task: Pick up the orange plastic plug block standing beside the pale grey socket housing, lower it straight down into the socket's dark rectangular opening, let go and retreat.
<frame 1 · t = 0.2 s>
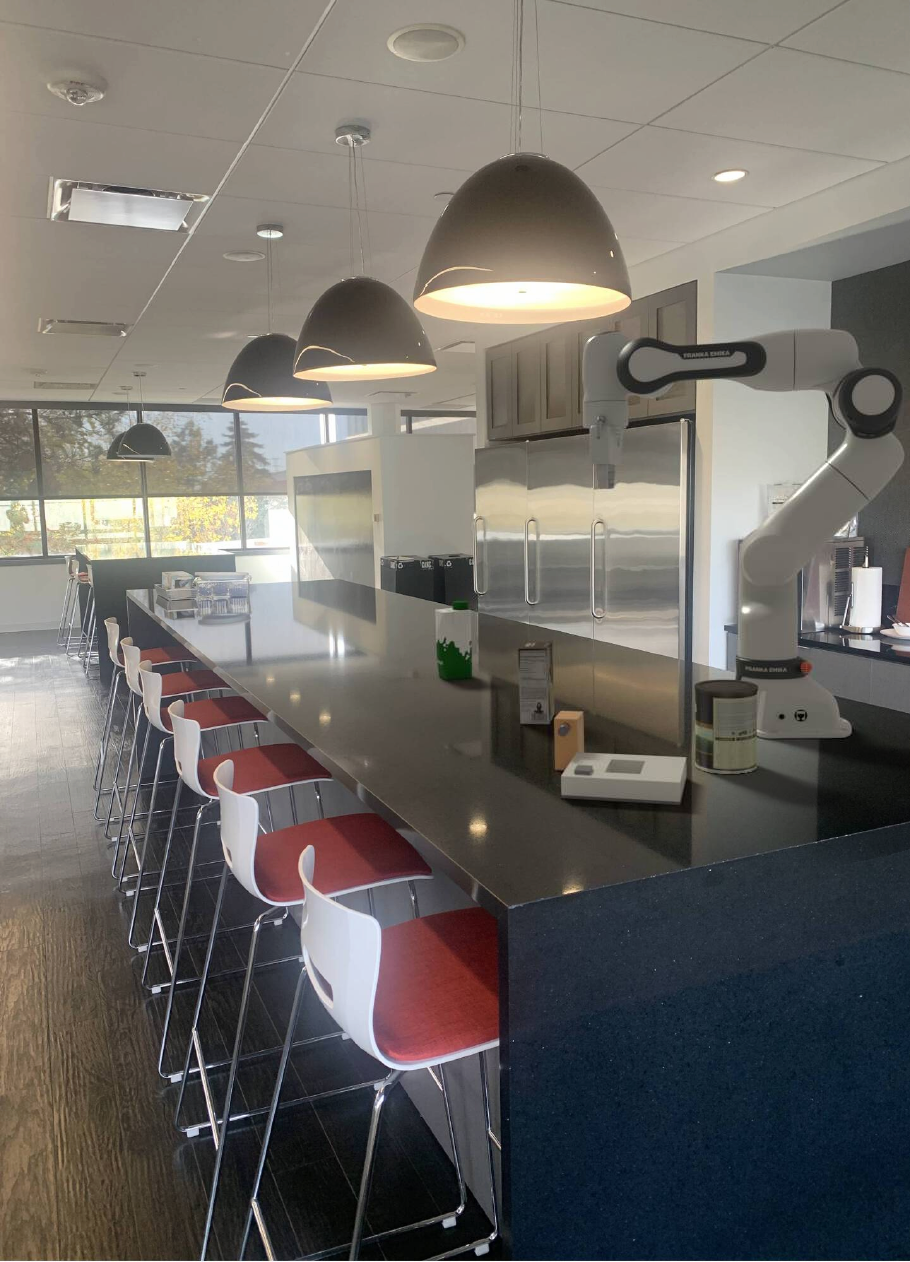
hand: (606, 488, 188), 48 cm above the countertop, fingers open, 8 cm apart
socket: (625, 787, 151), on the countertop
coffee box: (537, 720, 200), on the countertop
milk carton: (455, 677, 251), on the countertop
plug: (569, 765, 164), on the countertop
coffee can: (725, 767, 160), on the countertop
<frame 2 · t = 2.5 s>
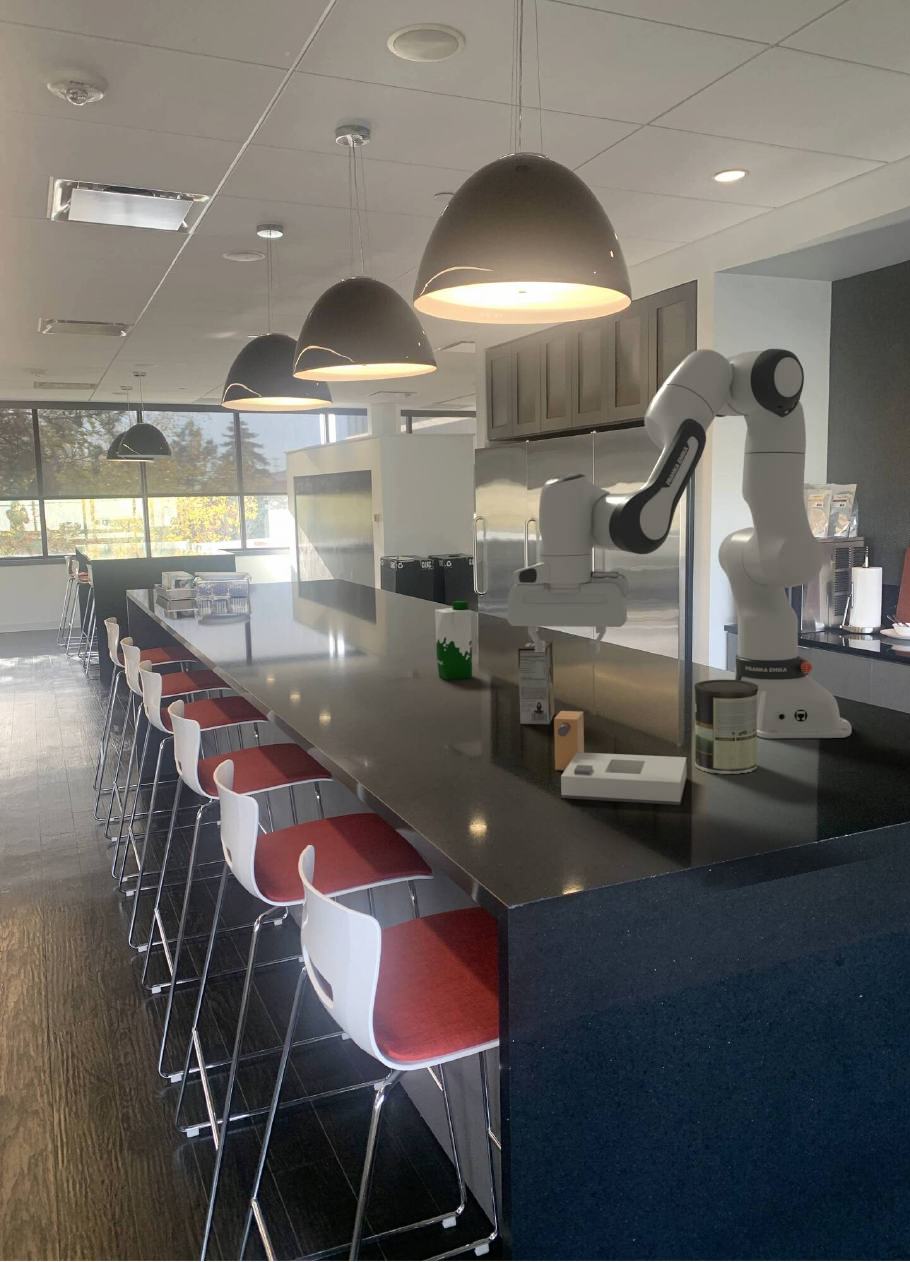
hand: (567, 652, 162), 20 cm above the countertop, fingers open, 8 cm apart
nothing on the countertop moved.
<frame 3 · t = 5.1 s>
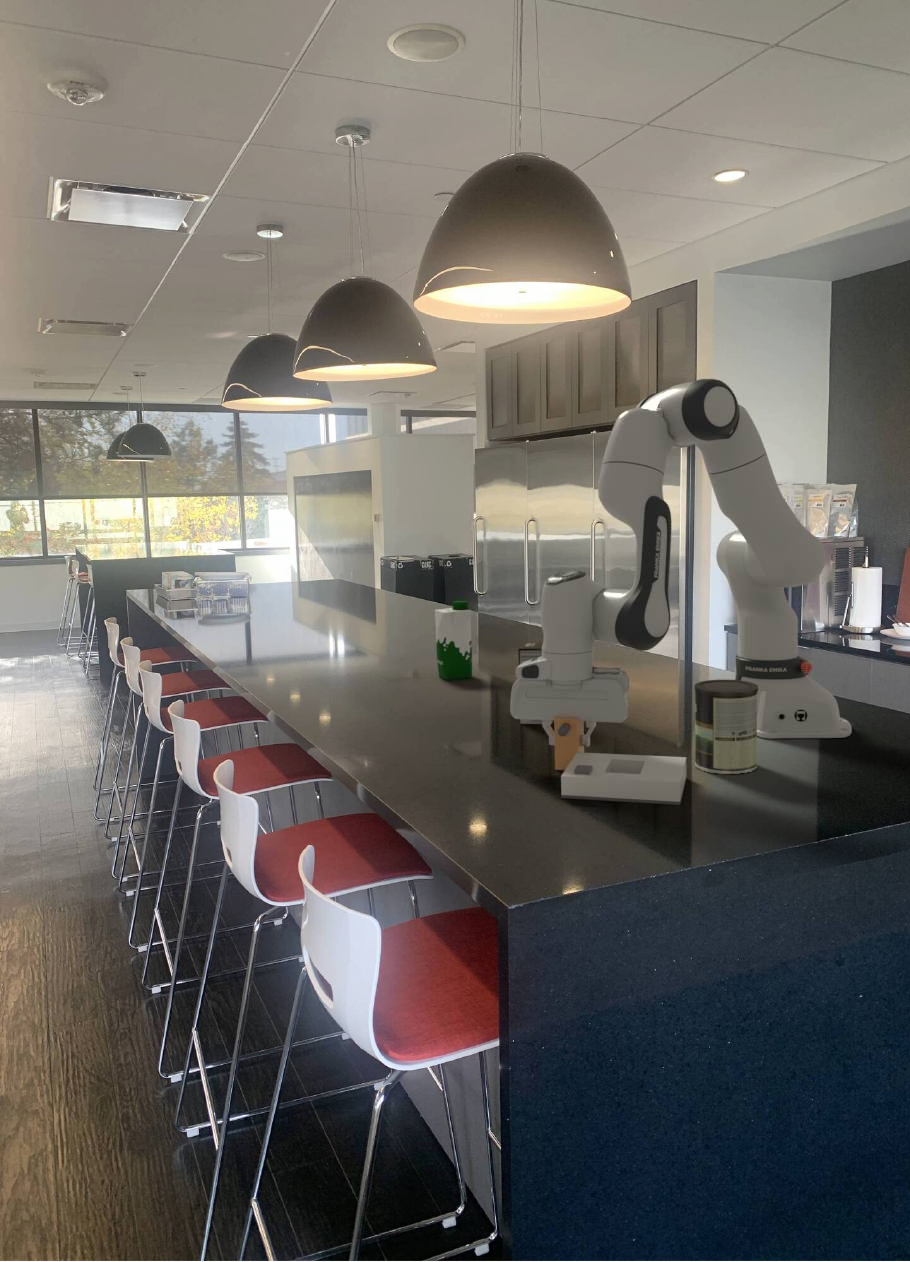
hand: (569, 745, 164), 4 cm above the countertop, fingers closed on plug, 4 cm apart
plug: (569, 765, 164), on the countertop, touching gripper
everything else where it was.
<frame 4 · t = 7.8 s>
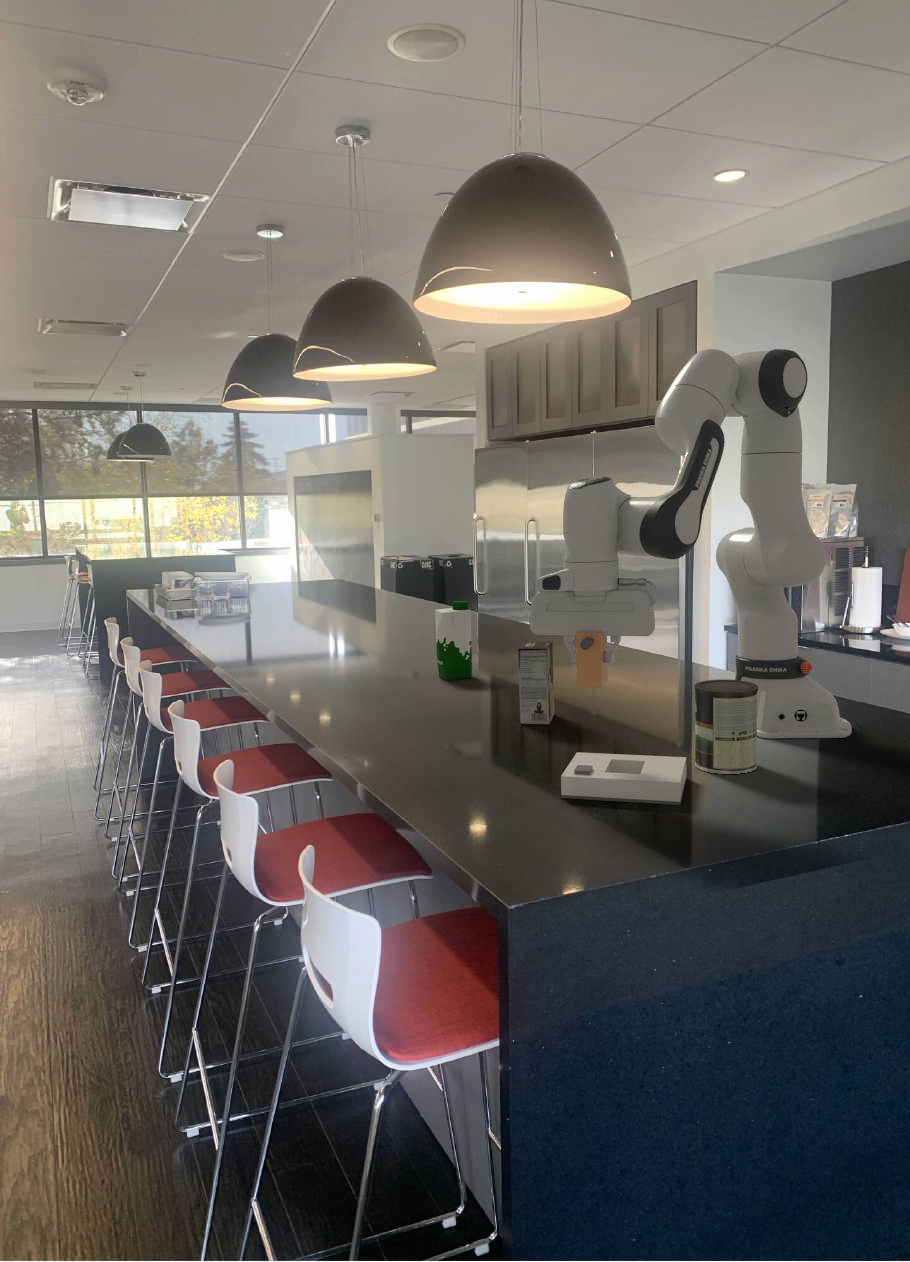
hand: (592, 662, 155), 19 cm above the countertop, fingers closed on plug, 4 cm apart
plug: (592, 684, 156), point 16 cm above the countertop, touching gripper
everything else where it was.
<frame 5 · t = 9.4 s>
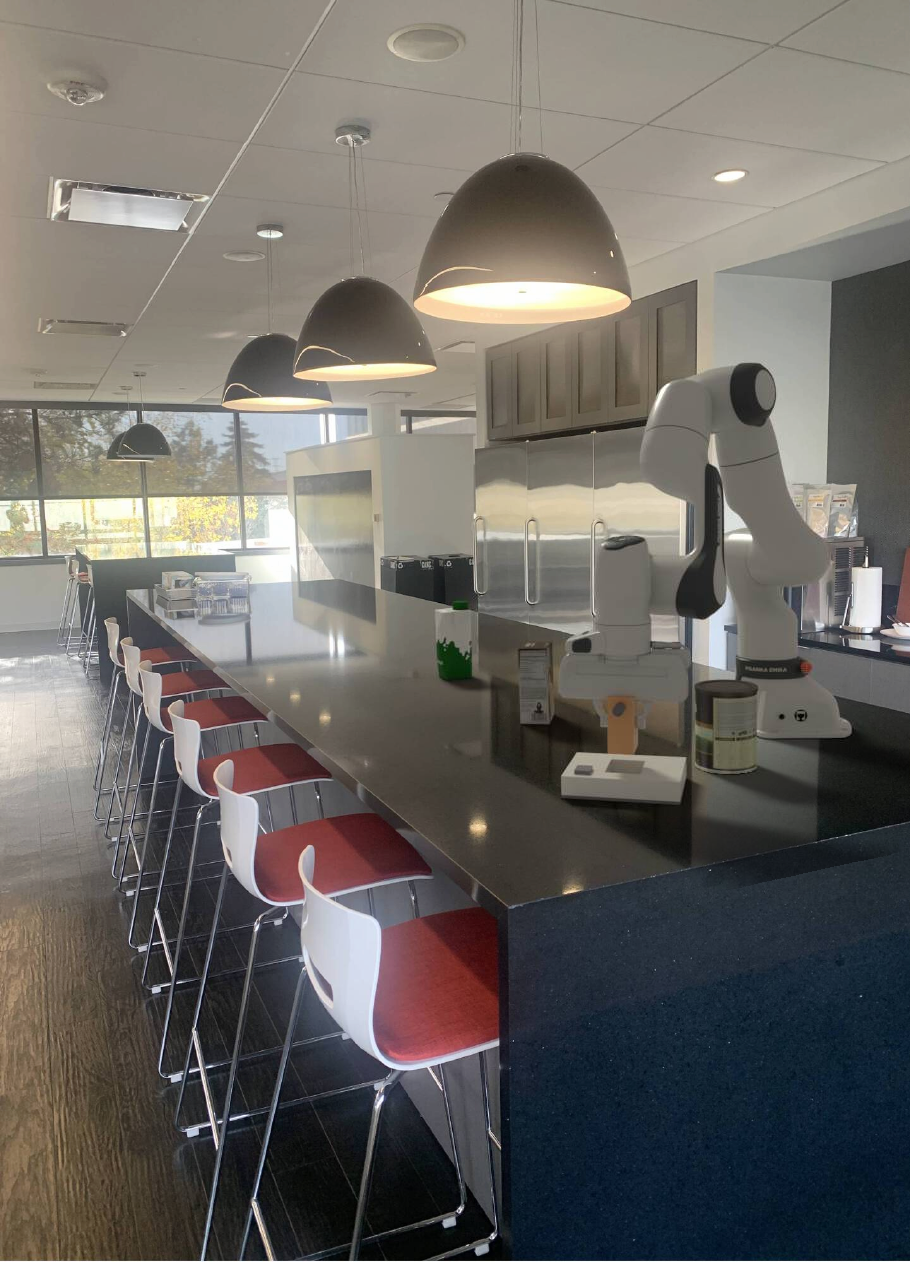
hand: (622, 727, 149), 10 cm above the countertop, fingers closed on plug, 4 cm apart
plug: (623, 749, 150), point 6 cm above the countertop, touching gripper
everything else where it was.
when the fingers open (6 cm above the countertop, at t = 10.6 s): plug drops 1 cm, resting on socket.
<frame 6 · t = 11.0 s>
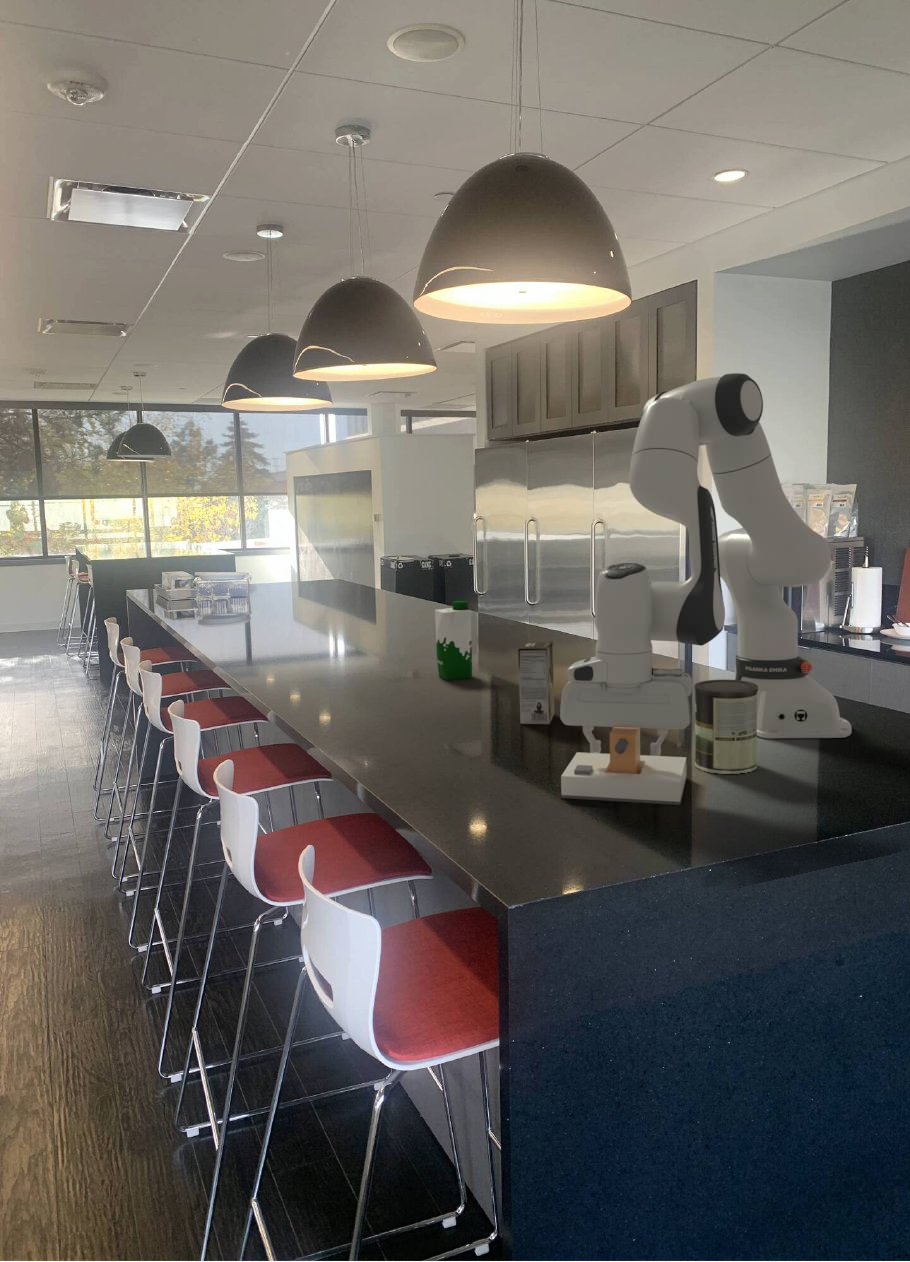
hand: (625, 753, 150), 6 cm above the countertop, fingers open, 8 cm apart
plug: (625, 784, 151), resting on socket
everything else where it was.
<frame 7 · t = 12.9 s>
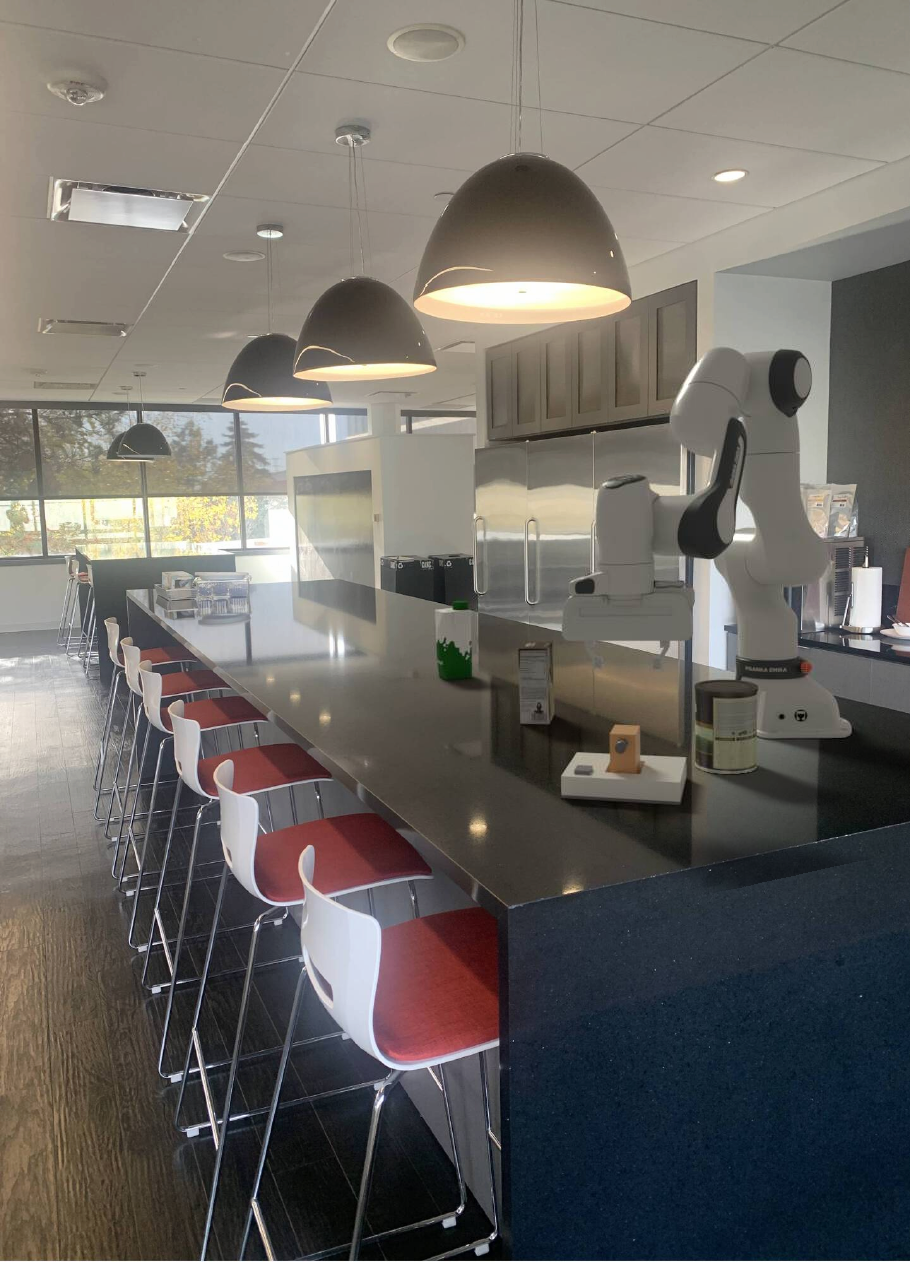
hand: (627, 668, 149), 19 cm above the countertop, fingers open, 8 cm apart
nothing on the countertop moved.
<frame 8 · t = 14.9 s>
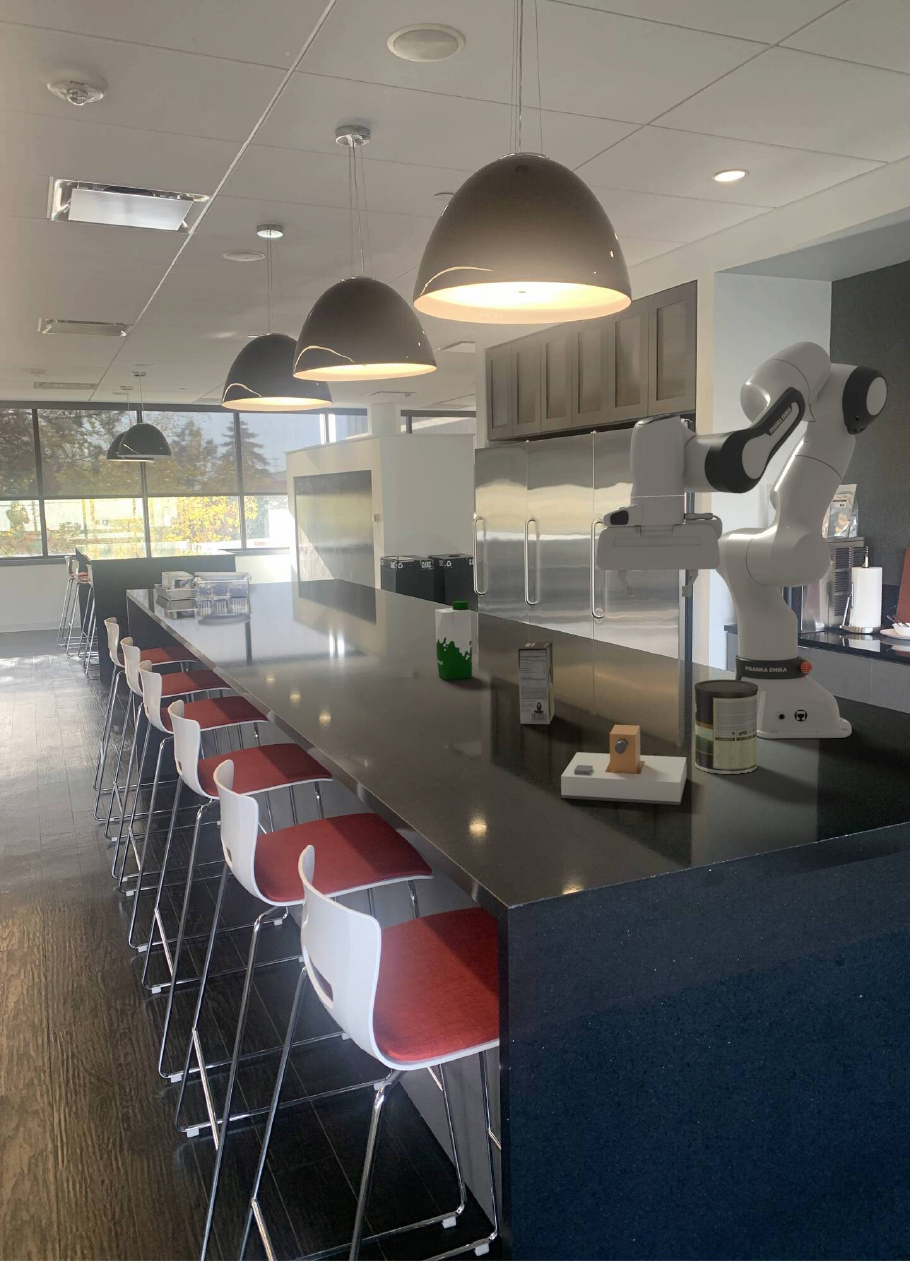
hand: (657, 596, 159), 29 cm above the countertop, fingers open, 8 cm apart
nothing on the countertop moved.
at the end: plug 0.0 cm off-centre on the socket, point 0.5 cm above the socket's base; plug tilted 0°; the gripper is holding nothing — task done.
